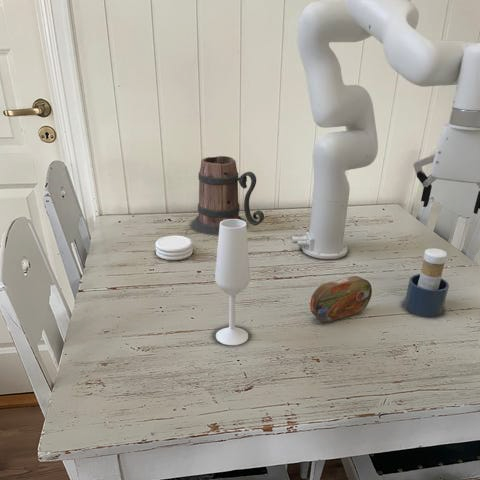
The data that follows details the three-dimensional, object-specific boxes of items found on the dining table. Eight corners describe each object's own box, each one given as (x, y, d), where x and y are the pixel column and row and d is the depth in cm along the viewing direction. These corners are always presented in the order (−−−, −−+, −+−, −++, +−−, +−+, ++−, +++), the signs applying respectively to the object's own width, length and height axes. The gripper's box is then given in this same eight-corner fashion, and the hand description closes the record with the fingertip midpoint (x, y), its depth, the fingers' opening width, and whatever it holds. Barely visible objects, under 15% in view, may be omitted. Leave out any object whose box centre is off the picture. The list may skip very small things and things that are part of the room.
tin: (314, 326, 103) (318, 291, 99) (306, 319, 105) (309, 284, 101) (369, 310, 109) (376, 276, 105) (360, 304, 112) (366, 271, 107)
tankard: (181, 228, 150) (178, 162, 140) (208, 212, 163) (207, 150, 153) (250, 242, 142) (252, 173, 131) (273, 224, 154) (276, 160, 144)
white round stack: (149, 257, 132) (148, 245, 130) (167, 244, 140) (166, 232, 138) (182, 263, 129) (181, 251, 127) (198, 249, 137) (198, 238, 135)
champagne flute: (237, 348, 96) (239, 233, 83) (209, 338, 99) (206, 225, 86) (254, 333, 100) (258, 221, 88) (227, 323, 103) (227, 214, 91)
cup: (412, 317, 107) (418, 291, 103) (398, 299, 114) (404, 274, 110) (448, 316, 107) (455, 290, 104) (432, 298, 114) (438, 273, 111)
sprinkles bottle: (423, 300, 113) (436, 246, 106) (438, 309, 110) (452, 254, 103) (408, 304, 111) (420, 249, 104) (422, 313, 108) (436, 257, 101)
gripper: (522, 119, 91) (496, 209, 100) (425, 113, 97) (409, 198, 106) (523, 125, 85) (496, 220, 94) (420, 118, 91) (403, 207, 100)
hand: (450, 208), depth 100 cm, fingers open, 9 cm apart
